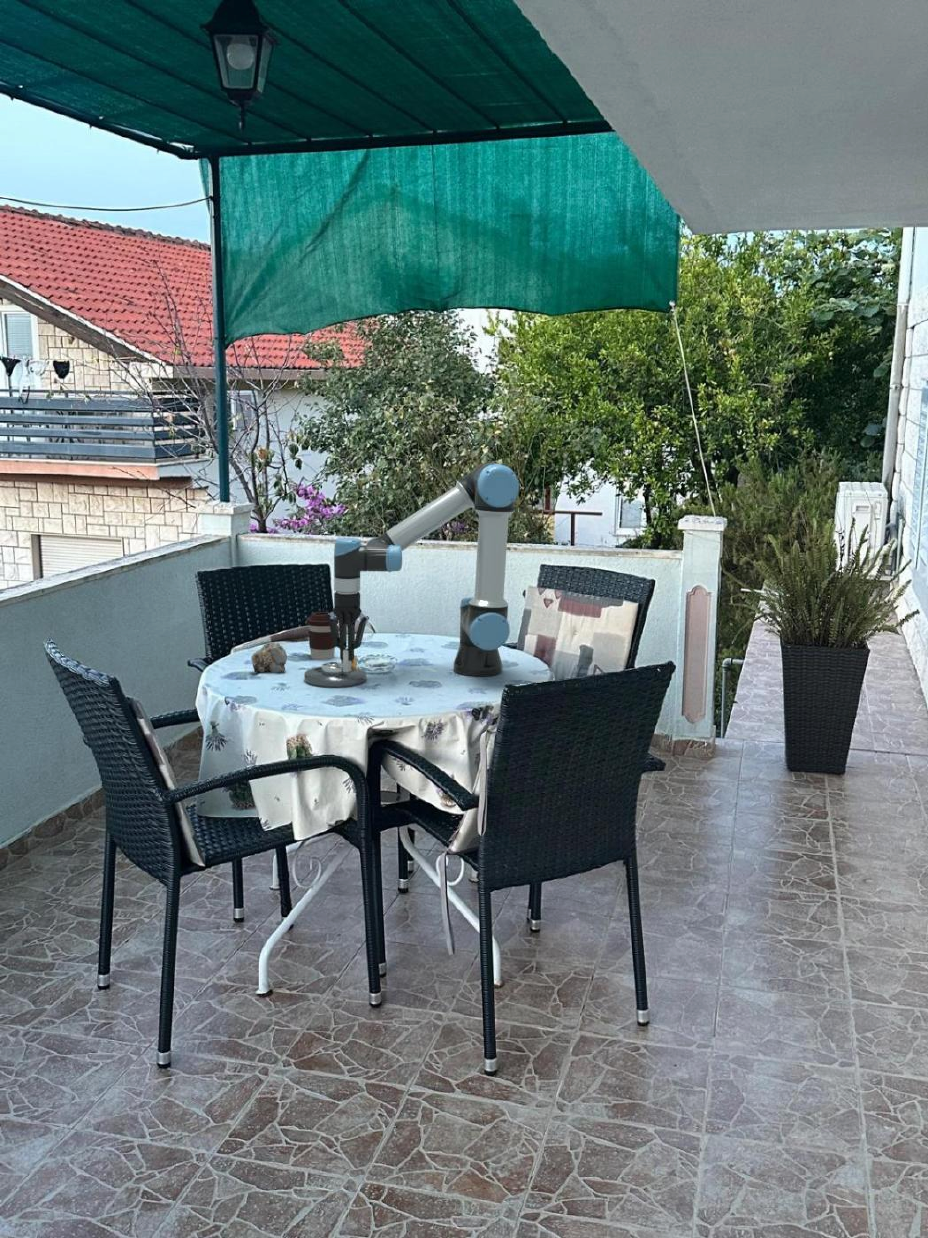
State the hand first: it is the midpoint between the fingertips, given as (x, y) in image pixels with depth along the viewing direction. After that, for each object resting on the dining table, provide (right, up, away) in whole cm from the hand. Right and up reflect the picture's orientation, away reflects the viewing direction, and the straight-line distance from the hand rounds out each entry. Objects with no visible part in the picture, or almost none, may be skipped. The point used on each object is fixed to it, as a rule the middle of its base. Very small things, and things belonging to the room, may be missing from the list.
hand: (347, 671), depth 340 cm
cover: (-4, -1, +1) cm, 4 cm away
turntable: (-3, -2, +3) cm, 5 cm away
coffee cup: (-11, +2, +30) cm, 32 cm away
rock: (-25, -1, +12) cm, 27 cm away
